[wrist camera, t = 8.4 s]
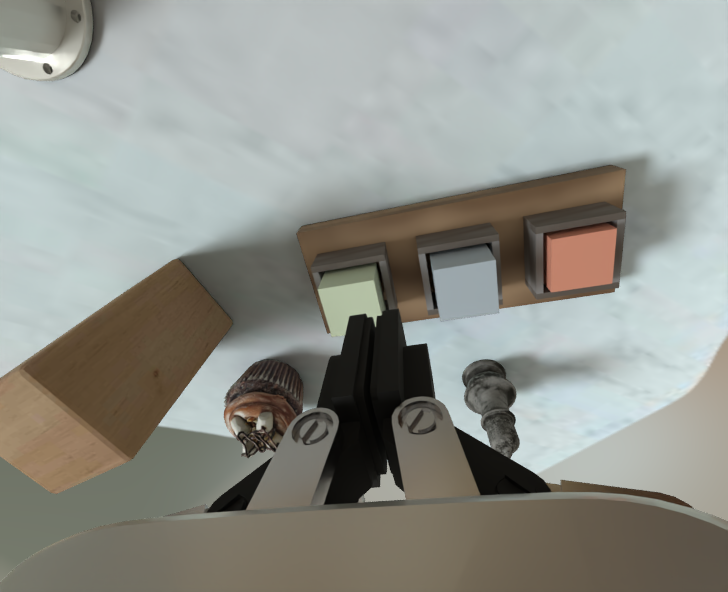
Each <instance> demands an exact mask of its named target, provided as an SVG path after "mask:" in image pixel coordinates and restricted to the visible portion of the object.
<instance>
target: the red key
mask: <svg viewBox="0 0 728 592" xmlns="http://www.w3.org/2000/svg"><path fill="white" fill-rule="evenodd" d="M616 235H617V228H615V227H614V226H612V225H610V224H608V223H607V222H604V223H598V224H592V225H586V226H581V227H575V228H569V229H563V230H558V231H552V232H546V233H543V283H544V284H545V285H546V287H547V288H548V289H549V290H550V292H558V291H565V290H572V289H578V288H585V287H592V286H598V285H605V284H612V281H613V269H614V258H615V246H616Z"/></svg>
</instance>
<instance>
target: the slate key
mask: <svg viewBox="0 0 728 592" xmlns="http://www.w3.org/2000/svg"><path fill="white" fill-rule="evenodd" d="M429 254H430V261H431V268H432V275H433V281H434V288H435V295H436V301H437V306H438V311H439V316H440V321H448V320H455V319H462V318H469V317H476V316H483V315H490V314H497V313H499V302H498V287H497V271H496V259H495V258H494V256H493V255H492V253H491V252H490V250H489V248H488V247H487V245H486V244H485V243H484V244H478V245H472V246H466V247H461V248H455V249H449V250H443V251H438V252H432V253H429Z"/></svg>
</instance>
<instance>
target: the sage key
mask: <svg viewBox="0 0 728 592" xmlns="http://www.w3.org/2000/svg"><path fill="white" fill-rule="evenodd" d="M317 290H318V293H319V296H320V300H321V303H322V306H323V309H324V313H325V316H326V319H327V323H328V326H329V329H330V332H331V336H332V337H336V336H343V335H345V334H346V329H347V325H348V320H349V316H352V315H359V314H365V313H366V315H367V317H373V319H374V323H375V327H376V319H377V316H380V315H382V311H385V310H386V305H385V301H384V296H383V292H382V287H381V283H380V278H379V273H378V269H377V264H376V262H375V263H369V264H363V265H357V266H352V267H346V268H340V269H334V270H329V271H325V273H324V275H323V278H322V280H321V282H320V285H319V287H318V289H317Z"/></svg>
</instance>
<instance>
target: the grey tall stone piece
mask: <svg viewBox="0 0 728 592" xmlns="http://www.w3.org/2000/svg"><path fill="white" fill-rule="evenodd" d="M462 380H463V383H464V385H465V387H466V391H465V395H464V399H465V403H466V405H467V406H468V408H469V409H470V410H472V411H473V412H475V413H478V414H481V415H482V419H481V426H482V428H483V429H484V430H485V431H487V434H488V438H489V442H490V445H491V447H492V449H494V450H496V451H498V452H499V453H501V454H503V455H505V456H506V457H508V458H511V456H512V453H514V452H515V451H516V450H517V449H518V447H519V444H520V442H519V438H518V435H517V432H516V429H515V427H514V425H515V421H516V419H515V416H514V414H513V413H512V412H510V411H509V408H510V407H511V406H512V405H513V403H514V402H515V399H516V390H515V387H514V386H513V384H512V383H511V382H509V381H508V380H507V379H506V372H505V370H504V368H503V367H502V365H501V364H499V363H498V362H495V361H492V360H479V361H476V362H473V363H472V364H470V365H469V366H468V367H467V368H466V369H465V370H464V372H463V375H462Z"/></svg>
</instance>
